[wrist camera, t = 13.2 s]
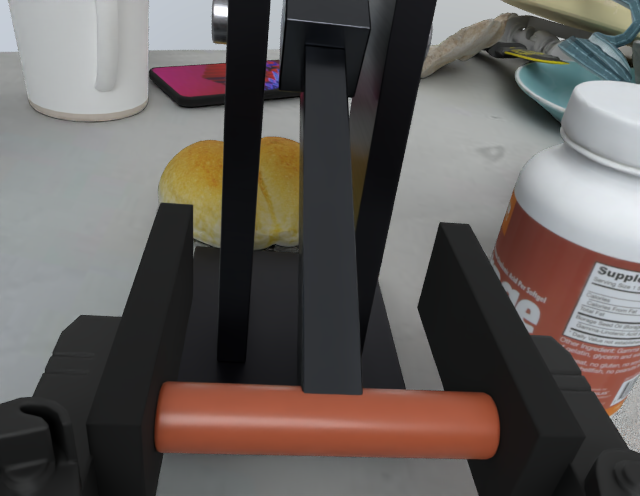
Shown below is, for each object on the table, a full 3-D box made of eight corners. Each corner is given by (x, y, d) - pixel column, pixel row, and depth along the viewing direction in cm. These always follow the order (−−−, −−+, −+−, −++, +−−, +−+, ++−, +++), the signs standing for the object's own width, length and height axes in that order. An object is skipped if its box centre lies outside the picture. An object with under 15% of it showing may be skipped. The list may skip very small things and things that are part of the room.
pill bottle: (448, 316, 26) (524, 62, 20) (584, 331, 26) (700, 85, 20) (475, 428, 20) (591, 128, 15) (647, 446, 21) (829, 158, 15)
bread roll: (154, 183, 33) (151, 115, 31) (306, 179, 36) (313, 116, 33) (166, 266, 26) (164, 187, 24) (351, 253, 29) (364, 181, 27)
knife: (525, 74, 49) (584, 72, 49) (527, 55, 49) (586, 53, 49) (456, 51, 71) (497, 50, 71) (456, 37, 70) (498, 36, 70)
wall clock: (795, 63, 68) (755, 19, 47) (776, 93, 70) (729, 64, 48) (565, -2, 85) (458, -55, 64) (554, 24, 87) (446, -21, 65)
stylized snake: (562, 49, 58) (609, -13, 55) (709, 156, 44) (784, 82, 41) (514, 18, 55) (562, -50, 51) (657, 124, 40) (736, 39, 37)
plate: (671, 199, 39) (690, 160, 38) (457, 91, 55) (464, 60, 53) (826, 164, 49) (846, 132, 48) (608, 81, 65) (618, 55, 64)
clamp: (561, 84, 62) (452, 46, 71) (603, 75, 68) (497, 41, 77) (575, 43, 60) (461, 9, 69) (618, 38, 66) (507, 7, 75)
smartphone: (145, 67, 47) (302, 57, 55) (146, 78, 48) (301, 67, 55) (181, 98, 42) (349, 83, 50) (181, 110, 43) (348, 93, 50)
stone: (396, 57, 55) (407, 86, 56) (509, 7, 51) (520, 39, 52) (417, 52, 67) (425, 76, 68) (510, 10, 63) (518, 37, 63)
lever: (470, 472, 12) (521, 442, 10) (160, 467, 11) (146, 433, 9) (409, 41, 19) (432, -29, 17) (218, 20, 18) (217, -56, 16)
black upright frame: (409, 457, 19) (546, 13, 12) (159, 452, 18) (137, -36, 11) (368, 277, 27) (433, -47, 20) (195, 268, 27) (197, -77, 19)
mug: (10, 86, 43) (-16, -73, 37) (132, 78, 47) (124, -64, 42) (43, 143, 35) (15, -45, 30) (183, 128, 40) (182, -38, 34)
